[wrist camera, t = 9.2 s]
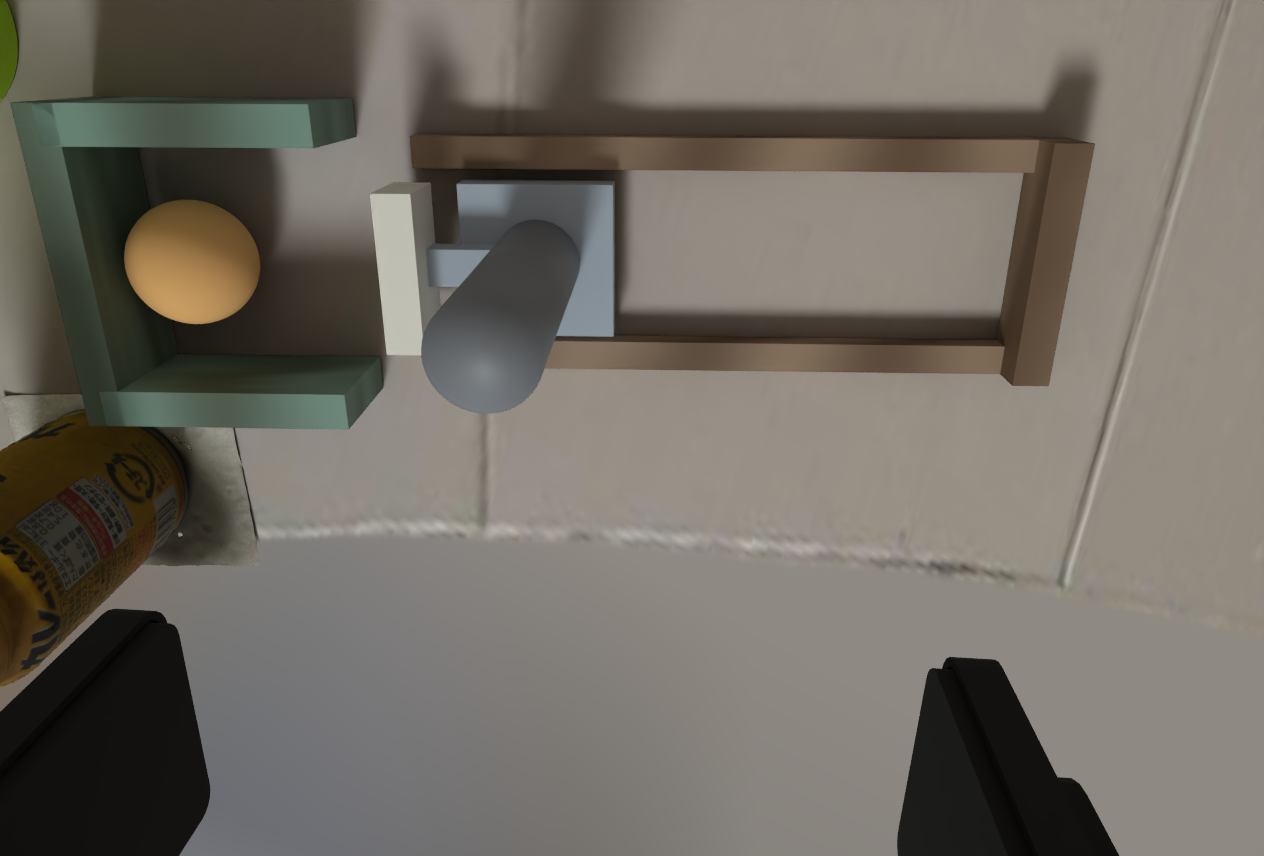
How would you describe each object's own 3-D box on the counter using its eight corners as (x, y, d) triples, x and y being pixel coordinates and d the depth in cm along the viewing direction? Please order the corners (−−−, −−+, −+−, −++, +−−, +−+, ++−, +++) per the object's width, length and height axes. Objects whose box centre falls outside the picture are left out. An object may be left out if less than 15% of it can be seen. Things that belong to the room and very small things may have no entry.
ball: (256, 189, 31) (241, 207, 27) (273, 303, 33) (261, 333, 29) (128, 193, 30) (96, 212, 26) (152, 310, 32) (125, 342, 28)
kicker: (614, 180, 30) (591, 246, 19) (614, 326, 32) (594, 458, 21) (401, 179, 30) (265, 244, 20) (414, 324, 32) (296, 453, 22)
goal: (351, 98, 29) (307, 104, 26) (383, 387, 33) (348, 429, 29) (91, 96, 30) (10, 102, 26) (152, 384, 33) (89, 425, 30)
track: (1067, 138, 29) (1094, 143, 27) (1026, 367, 32) (1048, 386, 30) (416, 134, 30) (400, 139, 28) (434, 359, 33) (421, 378, 31)
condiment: (4, 394, 34) (-316, 560, 23) (226, 390, 33) (12, 556, 22) (57, 563, 37) (-204, 784, 25) (263, 560, 36) (89, 783, 25)
